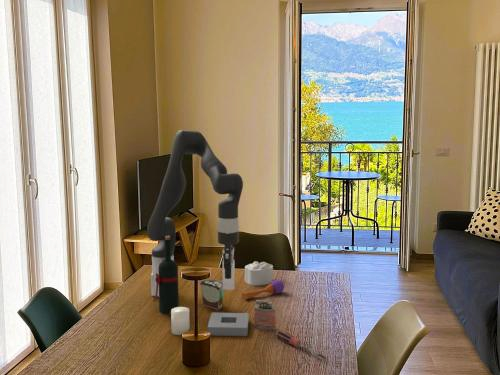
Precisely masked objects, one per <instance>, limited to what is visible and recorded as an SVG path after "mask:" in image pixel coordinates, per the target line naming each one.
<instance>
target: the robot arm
mask: <svg viewBox="0 0 500 375" xmlns="http://www.w3.org/2000/svg"><path fill="white" fill-rule="evenodd" d="M213 151H214V150H212V148H211V146H210V144H209V143H208V141H207V139H206V137H205V136H204V135H203V134H202V132H200V131H198V130H185V129H181V130H178V131H177V133H176V134H175V136H174V138H173V143H172V147H171V152H170V157H169V158H170V159H169V162H168V165H167V169H166V173H165V175H164V177H163V181H162V185H161V188H160V191H159V195H158V198H157V201H156V204H155V207H154V209H153V211H152V214H151V215H150V218H149V220H148V223H147V228H146V234H147V237H148V239H149V240H150V241H152V242H158V241H159V243H158V244H157V245H155V246H154V247H153V248H152V250H151V274H150V284H151V287H150V288H151V292H150V293H151V295H150V296H151V297H155V295H156V284H157V283H156V281H155V277H156V273H157V274H158V275H159V264H160V263H161V262H162V261H164V260H165V236H170V239H171V260H173V261H175V259H174V257H175V256H174V255H175V253H174V252H175V249H176V224H175V222H174V220H173V219H172V218H171V217H168V215H169V214H170V212H172V210H174V208H175V207H176V206H177V205H178V204H179V202H180V201H181V200H182V198H183V196H184V193H185V191H186V188H187V186H186V185H187V180H186V179H187V178H186V175H185V172H184V169H183V167H182V166H183V164H182V162H183V157H184V155H198V156H199V157H200V158H201V159H200V167H201V169H202V170H203V172H204V174H206V176H207V177H208V178H209V180H210V182H211V185H212V189H213V191H214V192H215V193H216V194H219V195H228V196H227V198H225V199H223V200H221V201H219V202H218V206H217V210H218V212H217V214H218V215H217V216H218V219H217V243H218V244H219V245H223V247H222V252H221V253H222V262H223V261H224V269H225V279H231V268H232V266H231V262H232V261H233V259H234V258H235V256H234V255H235V254H234V253H235V247H234V245H237V244H239V242H240V221H239V203H240V199H241V196H242V193H243V188H244V181H243V178H242V176H241V175H240V174H239V173H228V169H227V167H226V166H225V165H224V163H223V162H222V161H220V159H219V158H218V157H217V156H216V154H215V153H214V152H213ZM226 263H229V265H226ZM157 298H159V284H158V293H157Z"/></svg>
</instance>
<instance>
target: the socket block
mask: <svg viewBox="0 0 500 375" xmlns="http://www.w3.org/2000/svg"><path fill="white" fill-rule="evenodd" d="M249 318H250V314H249V312H211V313H210V317H209V320H208V323H207V324H208V325H207V327H206V328H207V329H206V331H208V332H210V333H211V335H210V336H220V337H221V336H225V337H226V336H232V337H234V336H235V337H236V336H237V337H247V336H248V332H249V322H250V319H249Z"/></svg>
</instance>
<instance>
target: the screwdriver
mask: <svg viewBox="0 0 500 375" xmlns="http://www.w3.org/2000/svg"><path fill="white" fill-rule="evenodd" d="M275 335H276V337H277V338H278V339H280V340H281V341H282V342H285V343H288V344H289V345H293V346H294V347H295V348H298V349H299V348H302V349H305V351H308V352H310V353H312V354H315V355H316V356H318V357H320V358H322V359H324V360H326V359H327V357H326V356H325V355H323V354H321V353H319V352H317V351H315V350H313V349H311V348H310V347H308V346H306V345H305V344H302V341H301V340H300V339H297V338H295V337H294V336H292V335H291V334H289V333H288V332H285V331H282V330H280V329H279V330H276V332H275Z"/></svg>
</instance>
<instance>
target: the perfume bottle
mask: <svg viewBox="0 0 500 375" xmlns="http://www.w3.org/2000/svg"><path fill="white" fill-rule="evenodd" d="M253 312H254V316H253V317H254V318H253V320H254V322H253V327H254V328H255V329H260V330H267V331H268V330H269V331H273V330H276V308H275V307H274V306H273V302H272V301H268V300H264V301H263V300H258V299H256V300H255V305H254V306H253Z"/></svg>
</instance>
